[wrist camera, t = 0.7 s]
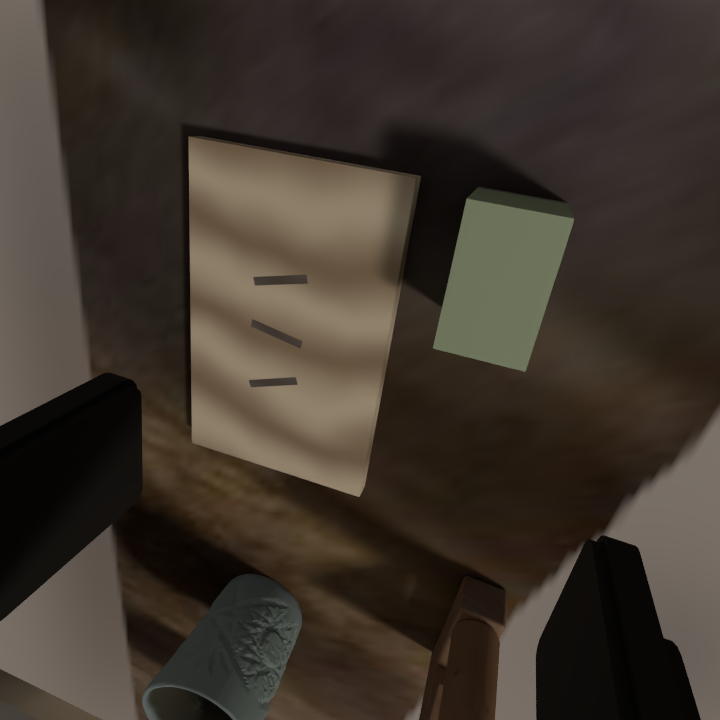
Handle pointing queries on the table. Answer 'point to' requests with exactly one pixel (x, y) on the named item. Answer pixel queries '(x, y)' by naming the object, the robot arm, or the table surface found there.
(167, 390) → the table surface
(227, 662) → the blue cup
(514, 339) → the block
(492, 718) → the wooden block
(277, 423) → the birch board
